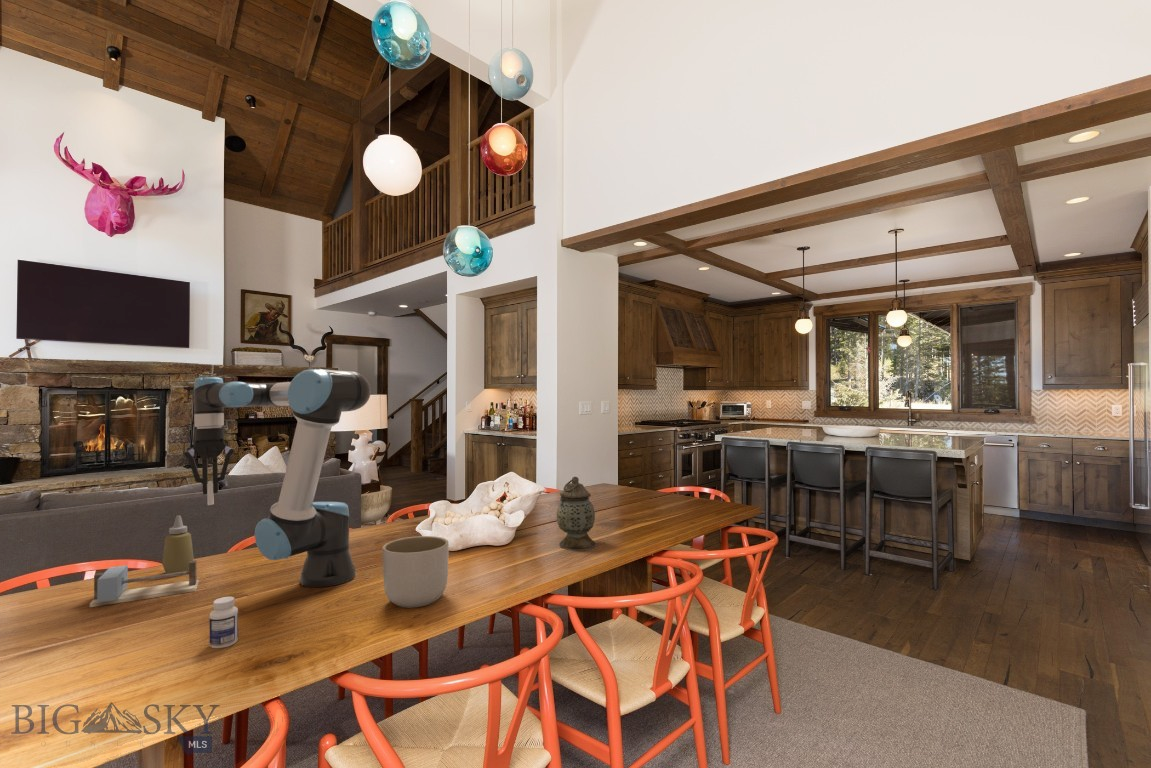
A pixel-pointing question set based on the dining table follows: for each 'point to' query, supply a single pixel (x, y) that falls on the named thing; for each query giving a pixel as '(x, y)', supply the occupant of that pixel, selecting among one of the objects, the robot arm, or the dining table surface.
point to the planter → (415, 570)
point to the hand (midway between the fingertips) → (210, 504)
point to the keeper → (112, 583)
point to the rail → (152, 587)
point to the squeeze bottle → (177, 548)
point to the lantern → (575, 516)
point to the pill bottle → (223, 623)
